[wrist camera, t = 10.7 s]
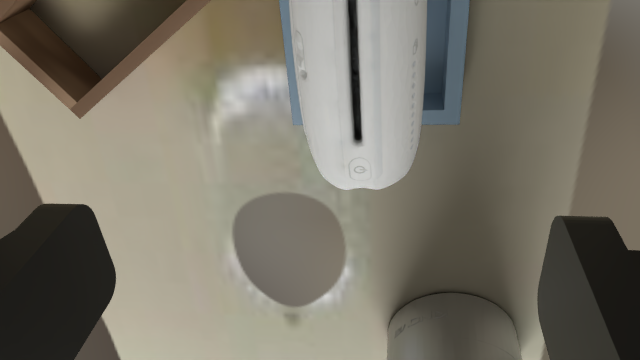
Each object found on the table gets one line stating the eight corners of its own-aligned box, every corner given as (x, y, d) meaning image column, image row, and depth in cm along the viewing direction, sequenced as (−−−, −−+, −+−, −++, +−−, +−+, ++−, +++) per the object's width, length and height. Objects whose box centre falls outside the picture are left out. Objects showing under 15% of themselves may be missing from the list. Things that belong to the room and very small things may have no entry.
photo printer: (416, 74, 28) (424, 219, 18) (335, 76, 28) (297, 217, 18) (423, -158, 22) (440, -140, 12) (321, -150, 23) (255, -126, 13)
